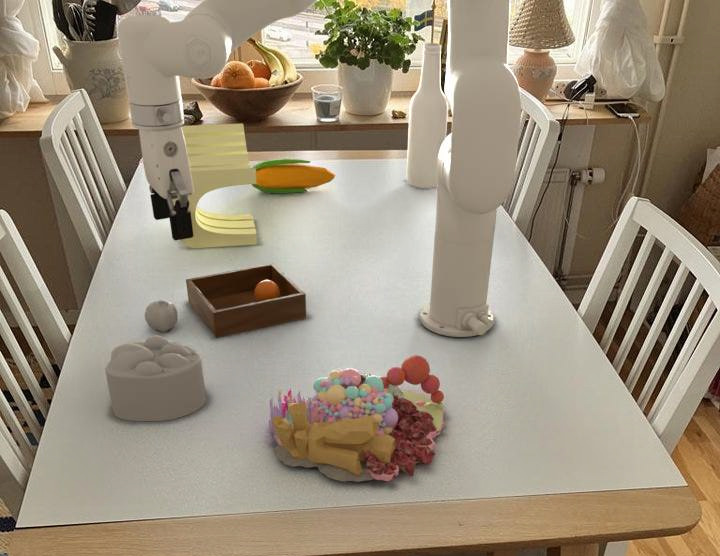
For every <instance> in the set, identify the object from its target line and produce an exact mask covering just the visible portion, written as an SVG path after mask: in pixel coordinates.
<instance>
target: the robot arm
mask: <svg viewBox="0 0 720 556" xmlns="http://www.w3.org/2000/svg"><path fill="white" fill-rule="evenodd" d="M319 1H320V0H202V1H201V3H199V4H198V5H196V6H195V7H194V8H193V9H191V10H190V11H189V12H188V13H187V14H186V15H185V16H184V18H183V19H182V20H179V21H172V22H171V21H170V20H169V19H167V18H166V17H164V16H161V15H155V14H141V15H140V14H138V15H131V16H127V17H124V18H123V19H121V20H120V21H119V22H118V25H117V38H118V45H119V51H120V57H121V63H122V69H123V75H124V81H125V87H126V95H127V100H128V106H129V112H130V119H131V125H132V127H133V128H134V129H138V134H139V142H140V151H141V157H142V163H143V169H144V174H145V178H146V182H147V183H148V184H149V186H148V187H149V188H148V189H149V193H150V195H149V196H150V202H151V208H152V214H153V218H154V219H155V221H159V220H165V219H169V224H170V232H171V238H172V240H173V241H175V242H176V241H181V240H182V239H188V238H192V237H193V227H192V220H191V210H190V206H189V204H190V203H189V200H188V195H192V194H193V192H194V189H193V183H192V176H191V170H190V165H189V159H188V153H187V148H186V143H185V139H184V135H183V131H182V128H181V126H184V125H185V115H184V108H183V106H184V105H183V98H182V90H181V83H180V82H181V81H180V77H182V78H189V79H195V80H208V79H212V78H214V77H216V76H218V75H219V74H220V73H222V71H223V70H224V69H225V67H226V65H227V63H228V60H229V57H230V54H232V53H233V52H234V51H235V50H236V49H238V48H239V47H240V46H241V45H243V44H244V43H245V42H247V41H248V40H249V39H251V38H252V37H253V36H255V35H257V34H258V33H260V32H261V31H262V30H263V29H265V28H267V27H269V26H270V25H272V24H274V23H276V22H278V21H280V20H285V19H287V18H288V19H289V18H293V17H296V16H298V15H300V14H301V13H303V12H305V11H307V10H308V9H309V8H311V7H312V6H314V4H316V3H317V2H319ZM446 2H447V12H448V13H447V15H448V16H447V18H448V19H447V30H448V31H447V32H448V34H447V35H448V36H447V51H446V54H447V55H446V68H445V69H446V70H445V80H444V95H445V98H446V101H447V104H448V109H449V110H450V112H451V132H450V133H449V134H448V135H446V139H445V140H444V142H443V144H442V146H441V148H440V151H439V154H438V160H437V187H436V208H435V209H436V211H435V226H434V228H435V229H434V240H433V254H432V270H431V285H430V301H429V303H427V304H426V305H424V306H423V307H422V309H421V310H420V313H419V320H420V322H421V324H422V326H423V327H424V328H426V329H427V330H429V331H431V332H433V333H435V334H438V335H440V336H444V337H445V336H446V337H452V338H469V337H476V336H483V335H484V334H485V333H486V332H488V331H489V330H491V328H492V327H494V325H495V321H494V320H495V316H494V313H493V312H492V310H491V309H490V308H489V306H490V305H489V304H488V294H489V293H488V292H489V283H490V276H491V267H492V256H493V249H494V248H493V247H494V238H495V231H496V223H497V210H498V208H500V206H502V205H503V204H504V202H506V200H507V199H508V197H509V195H510V193H511V191H512V188H513V185H514V182H515V178H516V177H515V176H516V171H517V170H516V169H517V161H518V160H517V158H518V150H519V149H518V148H519V140H520V139H519V138H520V129H521V118H522V117H521V116H522V96H521V88H520V86H519V82H518V80H517V78H516V76H515V74H514V73H513V71H512V70H511V69H510V67H509V61H508V60H509V41H510V17H511V0H447V1H446ZM172 191H176V192H174V193H171V192H172ZM173 199H178V200H176V202H175V206H174V203H173Z"/></svg>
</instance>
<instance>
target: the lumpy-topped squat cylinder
mask: <svg viewBox="0 0 720 556" xmlns="http://www.w3.org/2000/svg"><path fill="white" fill-rule="evenodd" d="M110 355H111V356H110V361H109V362H107V364H106V366H105V369H104V372H105V376H106V382H107V386H108V387H107V388H108V391H109V396H110V401H111V402H110V403H111V407H112V411H113V416H115V417H116V418H118V419H120V420H124V421H130V422H163V421H165V422H166V421H171V420H175V419H179V418H182V417H186V416H188V415H192V414H194V413H195V412H197V411H198V410H200V409H201V408H203V407H204V406H205V404H206V403H207V395H206V388H205V387H206V386H205V378H204V370H203V363H202V357H201V354H200V353H199V352H198V351H197V350H196V349H194V348H192V347H191V346H188V345H185V344H181V343H178V342H175V341H169V340H168V339H167V338H165V337H163V336H160V335H152V336H149V337H147V338H146V339H145V340H144V341H135V342H126V343H123V344H121V345H118V346H117V347H115V348H114V349H113V350H112V351H111V354H110Z"/></svg>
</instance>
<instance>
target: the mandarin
mask: <svg viewBox="0 0 720 556" xmlns="http://www.w3.org/2000/svg"><path fill="white" fill-rule="evenodd" d="M279 296H280V290H279V288H278V286H277V285H276V283H274V282H273V281H270V280H264V281H261V282H260V283H258V284H257V286H256V288H255V298H256V300H257V301H258V302H260V301H265V300H270V299H274V298H279Z"/></svg>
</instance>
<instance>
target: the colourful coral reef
mask: <svg viewBox="0 0 720 556" xmlns="http://www.w3.org/2000/svg"><path fill="white" fill-rule="evenodd" d="M430 372H431V368H430V363H429V362H428V361H427V359H426V358H424V357H423V356H421V355H417V354H413V355H410V356H408V357H406V358H405V359H404V360H403V362H402V363H401V367H399V366H393V367H390V368H389V369H388V371H387V373H386V376H379V375H374V374H373V375H372V373H366V372H365V373H361V372H359V371H358V370H357V369H356V368H353V367H347V368H345V369H343V370H342V369H340V368H335V369H333V370H332V371H331V372H330V374H329V376H328V377H323V376H322V377H318V378H317V379H315V381H314V382H313V383H312V387H313V390H314V391H315V393H314V394H313V396H312V397H307V398H305V396H304V395H303V396H301V390H299V391H298V393H297V395H296V396H297V400H296V396H293V395H292V393H293V392H292V388H291V387H290V388H289V389H288V390H287V393H286V394H285V395H283V401H282V391H281V389H278V393H277V403H278V407H277V405H276V404H275V403H274V402H273V398H270V400H269V412H270V413H269V414H270V415H269V416H270V418H269V419H268V427H269V428H268V431H269V437H270V443H273V439H274V440H275V442H276V443H277V445H276V447H275V448H274V453H275V455H276V456H275V457H276V459H277V460H278V461H282V463H283V464H284V465H286V466H289V467H292V468H293V467H303V468H317V469H318V470H319V472H320V473H321V474H324V475H325V476H326V477H327V478H330V479H332V480H336V481H338V482H350V481H351V482H352V481H353V482H356V483H360V482H365V481H372V480H376V481H384V482H391V481H393V480H394V479H395V478H397V476H398V475H399V474H400V473H399V471H402V472H404V473H405V474H407V475H409V476H411V477H412V478H414V475H415V474H414V473H415V468H416V464H420V463H421V464H422V463H423V464H424V465H425V466H426V467H429V466H430V464H431V462H432V460H433V459H434V457H435V455H436V452H434V450H435V446H436V442H435V441H434V439H435V438H436V437H437V436H440V435H441V434H442V433H441V432H442V430H443V429H444V423H445V422H444V418H445V411H444V409H443V408H444V406H445V405H444V403H443V401H444V398H445V395H444V393H443V392H442V391H441V390H439V389H440V387H441V382H440V379H439V378H438V377H437V376H436V375H435V374H430ZM404 382H406V383H408V384H410V385H413V386H417V385H420V388H421V390H422V392H424V393H425V394H428V395H430V397H428V396H424V395H422V394H420V393H419V392H414V391H411V390H405V389H402V388H399V386H401V385H402V384H404Z"/></svg>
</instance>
